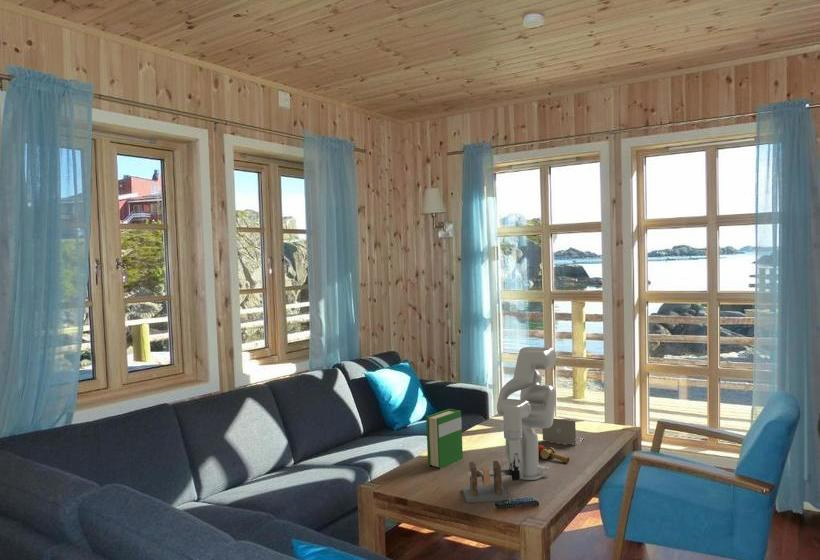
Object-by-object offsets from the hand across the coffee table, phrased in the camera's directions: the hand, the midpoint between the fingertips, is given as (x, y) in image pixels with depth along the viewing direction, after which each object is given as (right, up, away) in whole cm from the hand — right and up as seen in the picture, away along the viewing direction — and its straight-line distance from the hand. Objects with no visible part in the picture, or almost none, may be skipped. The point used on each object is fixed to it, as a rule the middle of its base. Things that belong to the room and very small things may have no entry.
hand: (514, 477), depth 259 cm
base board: (-12, -7, 0) cm, 14 cm away
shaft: (-9, -1, 0) cm, 9 cm away
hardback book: (-26, -7, +43) cm, 50 cm away
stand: (-12, -6, 0) cm, 13 cm away
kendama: (+25, -5, +41) cm, 48 cm away
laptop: (+38, -3, +71) cm, 81 cm away
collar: (-12, -2, 0) cm, 12 cm away
